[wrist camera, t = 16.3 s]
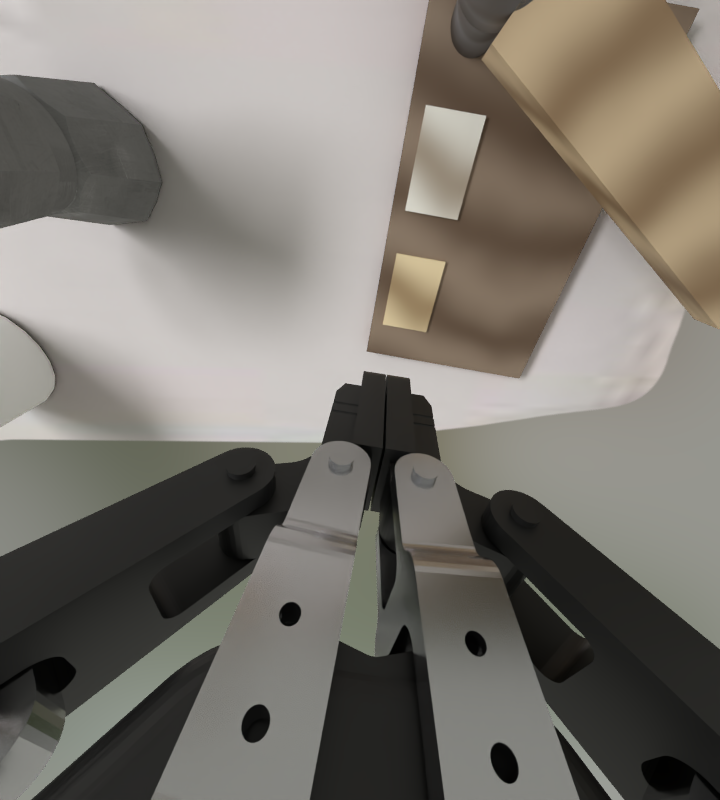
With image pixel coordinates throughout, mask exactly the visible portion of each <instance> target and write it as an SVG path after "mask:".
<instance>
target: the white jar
mask: <svg viewBox="0 0 720 800" xmlns="http://www.w3.org/2000/svg"><path fill="white" fill-rule="evenodd" d="M54 388H55V374H54V371H53V369H52V366H51V363H50V361H49V359H48V358H47V356H46V355H45V353H44V352H43V350H42V349H41V347H40V346H39V345H38V344H37V343H36V342H35V341H34V340H33V339H32V338H31V337H30V336H29V335H28V334H27V333H26V332H25V331H24V330H22V329H21V328H20V327H18V326H17V325H16V324H14V323H13V322H11V321H10V320H9V319H7V318H5V317H3V316H1V315H0V427H2V426H4V425H5V424H7V423H9V422H10V421H12V420H14V419H15V418H17V417H19V416H21V415H22V414H24V413H26V412H27V411H29V410H31V409H32V408H34V407H36V406H38V405H39V404H41V403H43V402H44V401H46V400H47V399H48V397H49V396H50V394H51V393H52V391H53V390H54Z"/></svg>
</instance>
